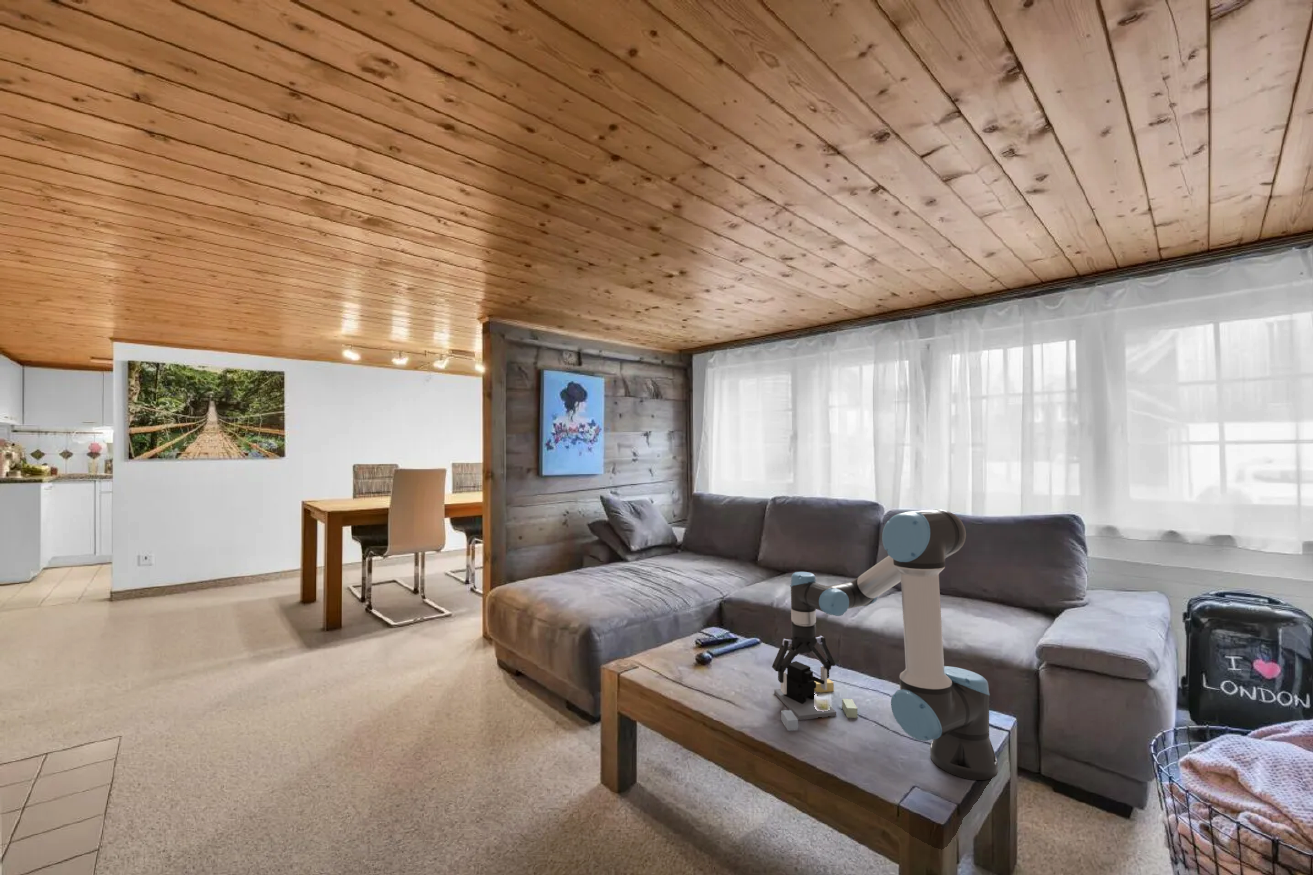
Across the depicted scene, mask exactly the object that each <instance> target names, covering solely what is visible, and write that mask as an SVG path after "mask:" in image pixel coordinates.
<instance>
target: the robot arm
mask: <svg viewBox="0 0 1313 875" xmlns="http://www.w3.org/2000/svg"><path fill="white" fill-rule="evenodd" d="M966 532H967V531H966V527H965V525H964V524H963V521H962V520H961V518H959V517H958V516H957V515H956V514H954V513H953V512H951V511H948V510H944V509H927V510H914V511H913V510H911V511H906V512H902V513H901V512H900V513H897V514H895V515H893V516H891V517H890V518H889V520H887V522H886V523H885V525H884V527H883V529H882V534H881V541H882V545H883V549H884V550H885V551H886V552H887V556H886V557H885V558H883V559H882V560H880V561H879V562H878V563H875V565H873V566H872V567H870V568H869V569H868V570H866V571H864V572H863V573H862V574H860V575H859V576H858V577H857V578H855V579H853V580H851V581H850V582H843V583H837V584H832V585H825V584H821V583H818V582H817V579H816V575H815V574H814V573H812V572H807V571H795V572H793V573H792V574H791V577H790V613H791V614H790V616H791V617H790V618H791V623H790V626H791V628H790V629H791V630H790V631H791V632H790V633H791V634H790V635H791V637H790V639H786V638H785V637H783V638H782V639H781V645H780V647H779V649H778V652H777V654H776V655H775V658H774V661H773V663H772V666H771V668H772V670H774V671H775V672H777V679H778V682H779V683H780V689H781V691H782V692H783V693H784V694H787V672H786V671H787V667H788V666H789V664H790V663H792V662H793V660H794V659H795V657H796V656H798V655H799V654H810V653H812V654H813V655H814V657H816V658H817V660H818V661H819V663H820V664H821V665H820V679H821V680H824V684H821V687H822V688H823V689H824V690H827V679H830V670H831V669H832V667H835V666H836V662H835V660H834V658H833V656H832V654H831V652H830V650H829V648H828V646H827V642H826V638H825V637H824V636H822V635H821V634H819V635H818V636H816V635H817V624H816V622H817V614H816V611H817V610H818V611H820V612H823V613H825V614H828V615H829V616H830V615H831V616H835V617H840V616H841V617H842V616H843V615H844V614H845V613H846V612H848V610H849V609H855V608H859V607H867V606H869V605H873V604H874V603H876V602H877V600H878V598H879V596H880V595H882V594H884V593H885V592H887V591H889V590H890V589H892V588H893V587H894V586H896V585H898V584H899V583H900V584H901V585H900V586H901V589H900V590H901V602H902V603H901V604H902V607H901V608H902V621H903V624H902V625H903V641H904V642H903V643H904V660H905V669H904V670H903V671H901V672H900V673H899V689H897V690H896V691H895V692H894V694H892V696H891V698H890V699H891V700H890V708H891V712H892V715H893V717H894V719H895V720H896V722H897V724H898V725H899V726H900V728H901V729H902V730H903V731H904V732H905V733H906V734H907V735H908V736H910V737H911V738H913V739H915V740H918V741H921V742H926V741H931V740H932V741H931V744H930V746H929V754H930V755H929V756H930V759H931V761H932V762H933V763H934V764H935V765H936V766H937V767H938V768H940V769H941V770H943V771H945V772H946V773H949V774H951V775H953V776H956V777H960V778H963V779H967V780H973V781H975V780H976V781H986V780H992V779H994V778H995V777H997V775H998V773H999V763H998V762H999V761H998V759H997V756H996V754H995V753H996V752H995V749H994V748H993V744H992V741H991V739H990V696H991V694H990V691H989V690H990V688H989V682H988V680H987V679H986V678H985V677H984V676H983V675H980V674H979V673H977V672H974V671H971V670H969V669H965V668H961V667H956V666H947V665H945V660H944V658H945V657H944V644H943V643H944V642H943V628H942V627H943V624H942V609H941V594H940V593H941V591H940V573H941V572H942V571H943V570H944V569H945V568H946V558H949V557H950V556H952V555H953V554H956V553H957V552H959V551H960V550H961V548H963V546H964V544H965V542H966V538H967V533H966ZM816 644H818V645H819V646H820V649H821V650H822V652H823V655H824V657H825V658H824V657H823V656H822V654H821V653H820V652H819V651H818V649H817V648H816V647H815V646H816ZM790 646H791V647H790ZM789 647H790V648H789ZM788 648H789V651H788Z"/></svg>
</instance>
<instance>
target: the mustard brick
mask: <svg viewBox="0 0 1313 875" xmlns="http://www.w3.org/2000/svg"><path fill="white" fill-rule="evenodd" d="M814 682H816V681H814ZM834 684H835V683H834V681H832V680H831V678H827V690H824V689H823V688H822V687H821V683H818V682H816V688H814V692H815V691H816V692H815V693H817V692H820V693H827V692H829V693H830V692H834V689H835V687H834Z"/></svg>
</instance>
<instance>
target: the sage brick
mask: <svg viewBox="0 0 1313 875" xmlns="http://www.w3.org/2000/svg"><path fill="white" fill-rule="evenodd" d="M841 707H842V710H843V713H844V715H845V716H846V718H849V719H851V718H853V719H858V706H857V705H856V704H855V702H854V699H852V698H841Z"/></svg>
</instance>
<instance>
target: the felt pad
mask: <svg viewBox="0 0 1313 875" xmlns="http://www.w3.org/2000/svg"><path fill="white" fill-rule="evenodd" d="M773 691H774V693H773V694H774V695H775V696H777V698H778V699H779V700H780V701H781V702H782V703H783V704H784V705H785V706H786V707H787V709H788V710H791V711H792V712H793V714H794V715H795V716H796V718H797V719H798V721H802V720H804V721H805V720H812V719H819V718H818V717H822V718H829V717H828V716H831V717H837V711H836V710H835V709H834V708H833V707H832V706H830V710H828V711H824V712H822V711H817V710H816V709H815V707H814V699H813V700H812V699H810V698H808V697H805V699H806V702H804V704H801V703H799V702H797V701H795V700H793V699H791V698H788V697H786V696H784V693H783V692H782V691H781V688H778V689H777V688H776V689H774V690H773ZM814 693H816V692H815V691H814Z"/></svg>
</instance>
